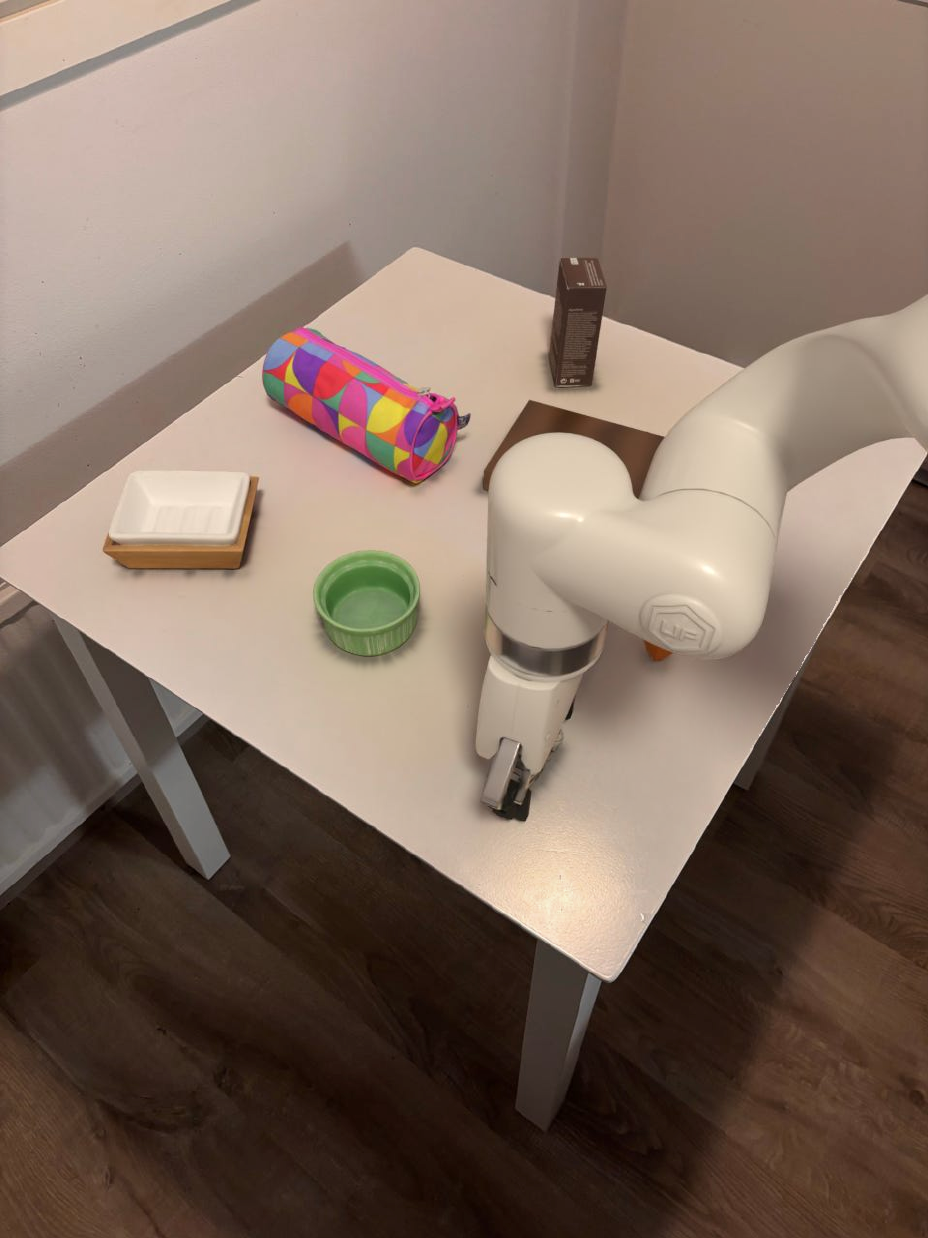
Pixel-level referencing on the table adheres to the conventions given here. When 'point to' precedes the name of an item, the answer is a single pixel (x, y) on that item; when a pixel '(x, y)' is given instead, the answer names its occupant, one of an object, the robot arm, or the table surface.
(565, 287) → the box
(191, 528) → the soap dish
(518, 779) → the wristwatch
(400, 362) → the table surface
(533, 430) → the cutting board
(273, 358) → the pencil case
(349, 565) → the ramekin
